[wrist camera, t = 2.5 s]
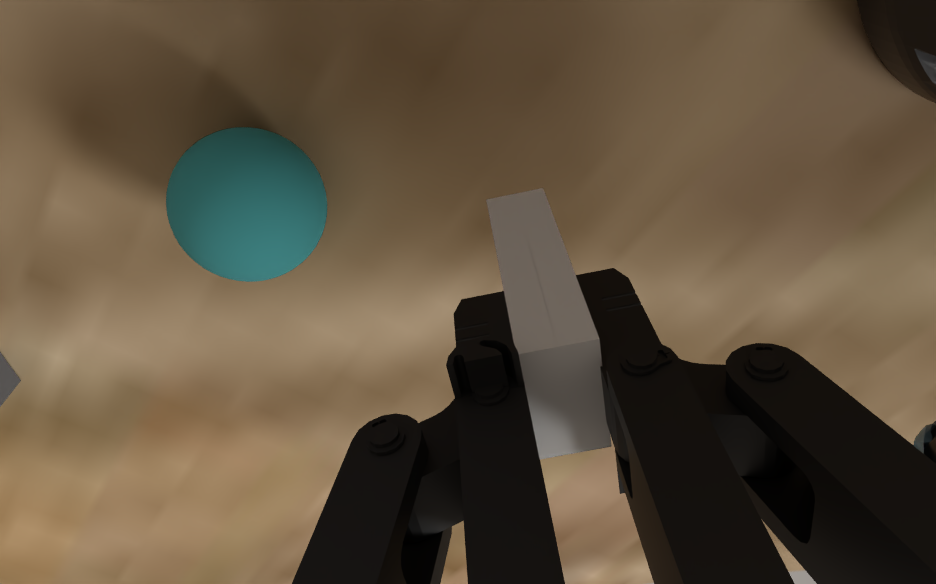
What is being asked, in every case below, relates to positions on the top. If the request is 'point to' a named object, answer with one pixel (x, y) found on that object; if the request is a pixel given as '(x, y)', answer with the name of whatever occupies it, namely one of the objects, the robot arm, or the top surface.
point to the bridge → (6, 379)
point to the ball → (246, 204)
